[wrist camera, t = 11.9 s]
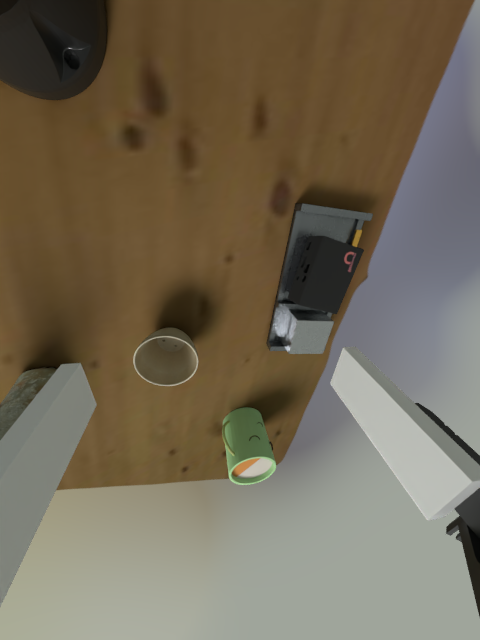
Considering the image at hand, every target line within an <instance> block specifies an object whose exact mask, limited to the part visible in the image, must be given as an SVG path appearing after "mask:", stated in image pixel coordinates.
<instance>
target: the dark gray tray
mask: <svg viewBox="0 0 480 640" xmlns="http://www.w3.org/2000/svg"><path fill="white" fill-rule="evenodd" d="M372 216H373V214H370V213H363V212H357V211H350V210H343V209H336V208H329V207H323V206H316V205H309V204H297V203H296V204H295V209H294V213H293V218H292V223H291V228H290V233H289V238H288V242H287V247H286V252H285V257H284V262H283V266H282V271H281V276H280V281H279V286H278V291H277V295H276V300H275V305H274V310H273V315H272V320H271V324H270V329H269V334H268V339H267V346H268V348H269V350H270V351H287V352H288V353H289V354H321V353H323V351H324V350H325V346H326V343H327V340H328V337H329V334H330V332H331V329H332V326H333V323H334V321H333V320H332V319H331V315H332V313H329V312H325V311H321V310H317V309H313V308H308V307H304V306H300V305H298V304H296V303H295V302H293V301H291V300H290V299H288V295H289V292H290V289H291V286H292V283H293V280H294V277H295V274H296V272H297V269H298V266H299V263H300V260H301V257H302V254H303V251H304V248H305V246H306V243H307V240H308V237H309V236H326V237H329V238H332V239H335V240H338V241H341V242H343V243H346V244H349V245H352V246H355V247H357V245H358V242H359V239H360V236H361V233H362V230H361V228H362V226H363V223H364V220H367V221H371V219H372Z"/></svg>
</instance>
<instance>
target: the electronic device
mask: <svg viewBox="0 0 480 640" xmlns="http://www.w3.org/2000/svg"><path fill="white" fill-rule="evenodd" d="M363 251H364V250H363V249H361V248H358V247H355V246H352V245H349V244H346V243H343V242H341V241H338V240H335V239H332V238H329V237H326V236H309V237H308V240H307V243H306V246H305V248H304V251H303V254H302V257H301V260H300V263H299V266H298V269H297V272H296V274H295V277H294V280H293V283H292V286H291V289H290V292H289V295H288V299H290V300H291V301H293V302H295V303H296V304H298V305H300V306H304V307H308V308H313V309H317V310H321V311H325V312H329V313H334V314H337V312H338V310H339V307H340V305H341V303H342V300H343V298H344V296H345V293H346V291H347V289H348V286H349V284H350V282H351V279H352V277H353V274H354V272H355V270H356V267H357V265H358V263H359V260H360V258H361V256H362V253H363Z"/></svg>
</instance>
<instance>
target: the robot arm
mask: <svg viewBox="0 0 480 640" xmlns="http://www.w3.org/2000/svg"><path fill="white" fill-rule="evenodd" d="M106 40H107V24H106V13H105V6H104V1H103V0H0V80H1V81H3V82H4V83H6V84H8V85H9V86H11V87H13V88H15V89H16V90H19V91H21V92H23V93H25V94H28V95H30V96H34V97H37V98H41V99H48V100H61V99H67V98H70V97H73V96H75V95H78V94H79V93H81V92H83V91H84V90H85V89H86V88H87V87H88V86H89V85H90V84H91V83H92V82H93V81H94V79H95V78H96V76H97V74H98V72H99V70H100V68H101V65H102V62H103V59H104V54H105V49H106ZM330 384H331V385H332V387H333V388H334V390H335V391H336V393H337V394H338V395H339V397H340V398H341V399H342V401H343V402H344V404H345V405H346V407H347V408H348V409H349V411H350V412H351V414H352V415H353V416H354V418H355V419H356V421H357V422H358V423H359V425H360V426H361V428H362V429H363V430H364V432H365V433H366V435H367V436H368V438H369V439H370V440H371V442H372V443H373V445H374V446H375V448H376V449H377V450H378V452H379V453H380V455H381V456H382V457H383V459H384V460H385V462H386V463H387V464H388V466H389V467H390V468H391V470H392V471H393V473H394V474H395V476H396V477H397V479H398V480H399V481H400V482H401V484H402V486H403V487H404V488H405V490H406V491H407V493H408V494H409V495H410V497H411V498H412V499H413V501H414V503H415V504H416V505H417V507H418V508H419V510H420V511H421V512H422V514H423V515H424V517H425V518H426V519H427V521H429V520H434V519H438V518H442V517H445V516H446V515H448V514H449V513H450V512H451V511H453V510H454V509H455V510H456V511H457V512H458V514H459V515H460V516H459V517H458V518H456V519H455V520H454V521H453V522H451V523H450V524H449V525H448V526H447V529H446V530H447V531H446V533H447V534H448V535H452V534H453V533H455V532H456V531H457V530H459V532H460V533H459V534H458V535H457V536H456V539H457V540H459V541H461V542H462V544H463V549H464V553H465V557H466V561H467V565H468V570H469V574H470V578H471V582H472V586H473V590H474V595H475V599H476V603H477V608H478V612H479V616H480V456H479V455H478V454H477V453H476V452H475V451H474V450H473V449H472V448H471V447H469V446H468V445H467V444H466V443H465V442H464V441H463V440H462V439H461V438H460V437H459V436H458V435H455V433H454V432H453V431H452V430H451V429H450V428H449V427H448V426H445V425H444V423H443V422H442V421H441V420H440V419H439V418H438V417H437V416H436V415H435V414H434V413H433V412H431V411H430V410H428V409H427V408H425V407H424V406H422V405H420V404H419V403H414V402H413V401H412V400H411V399H410V398H408V397H407V396H406V395H405V394H404V393H403V392H402V391H401V390H400V389H399V388H398V387H397V386H396V385H395V384H394V383H393V382H392V381H391V380H390V379H389V378H387V377H386V376H385V375H384V374H383V373H382V372H381V371H380V370H379V369H378V368H377V367H376V366H375V365H374V364H373V363H372V362H371V361H370V360H369V359H368V358H366V356H364V355H363V354H362V353H361V352H360V351H359V350H358V349H357V348H356V347H346V348H343V350H342V352H341V355H340V358H339V361H338V363H337V366H336V369H335V372H334V375H333V377H332V380H331V383H330ZM96 405H97V404H96V402H95V399H94V397H93V394H92V391H91V389H90V386H89V383H88V381H87V378H86V376H85V373H84V370H83V368H82V365H81V363H73V364H61V365H60V367H59V368H58V369H57V370H56V372H55V373H54V374H53V375H52V377H51V378H50V379H49V380H48V382H47V383H46V384H45V385H44V387H43V388H42V389H41V390H40V392H39V393H38V394H37V395H36V397H35V398H34V399H33V400H32V402H31V403H30V404H29V405H28V407H27V408H26V409H25V410H24V412H23V413H22V414H21V415H20V417H19V418H18V419H17V420H16V422H15V423H14V424H13V425H12V427H11V428H10V429H9V430H8V431H7V433H6V434H5V435H4V436H3V438H2V439H1V440H0V606H1V604H2V602H3V600H4V598H5V596H6V594H7V591H8V589H9V587H10V585H11V583H12V581H13V579H14V577H15V575H16V573H17V570H18V568H19V566H20V564H21V562H22V560H23V558H24V556H25V554H26V552H27V550H28V548H29V545H30V543H31V541H32V539H33V537H34V535H35V532H36V531H37V529H38V527H39V525H40V522H41V520H42V518H43V516H44V514H45V512H46V510H47V508H48V506H49V503H50V501H51V499H52V497H53V495H54V493H55V491H56V489H57V487H58V485H59V483H60V481H61V478H62V476H63V474H64V472H65V470H66V468H67V466H68V464H69V462H70V460H71V457H72V455H73V453H74V451H75V449H76V447H77V445H78V443H79V441H80V439H81V437H82V434H83V432H84V430H85V428H86V426H87V424H88V422H89V420H90V418H91V416H92V413H93V411H94V409H95V407H96Z"/></svg>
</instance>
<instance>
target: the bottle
mask: <svg viewBox="0 0 480 640" xmlns="http://www.w3.org/2000/svg"><path fill="white" fill-rule="evenodd" d="M56 370H57V369H55V368H53V367H51V368H45V367H44V368H39V369H33V370H29V371H26V372H24V373H23V374H21V375H20V376H19V378H18V379H17V381H16V383H15V384H14V386H13V387H12V388H11V390H10V391H9V393H8V394H7V396H6V397H5V399H4V400H3V401H2V403H1V404H0V440H1V439H2V438H3V436H4V435H5V434H6V433H7V431H8V430H9V429H10V428H11V427H12V425H13V424H14V423H15V422H16V420H17V419H18V418H19V417H20V415H21V414H22V413H23V412H24V410H25V409H26V408H27V407H28V405H29V404H30V403H31V402H32V400H33V399H34V398H35V397H36V395H37V394H38V393H39V392H40V390H41V389H42V388H43V387H44V385H45V384H46V383H47V382H48V380H49V379H50V378H51V377H52V375H53V374H54V373H55V372H56Z"/></svg>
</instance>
